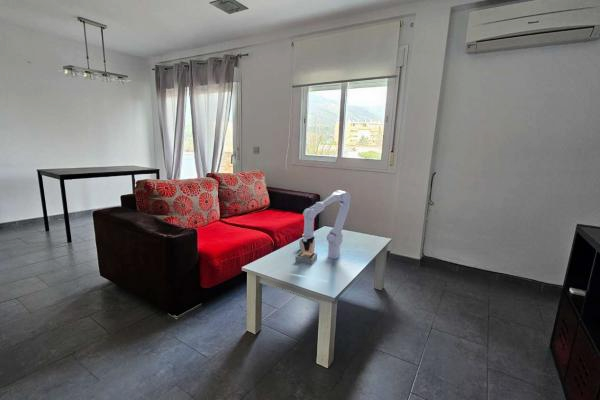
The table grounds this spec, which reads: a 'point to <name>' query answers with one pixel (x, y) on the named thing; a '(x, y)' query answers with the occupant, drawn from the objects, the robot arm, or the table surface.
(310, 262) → the tote
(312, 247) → the coral box
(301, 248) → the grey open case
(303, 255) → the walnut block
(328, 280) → the table surface
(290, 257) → the table surface
